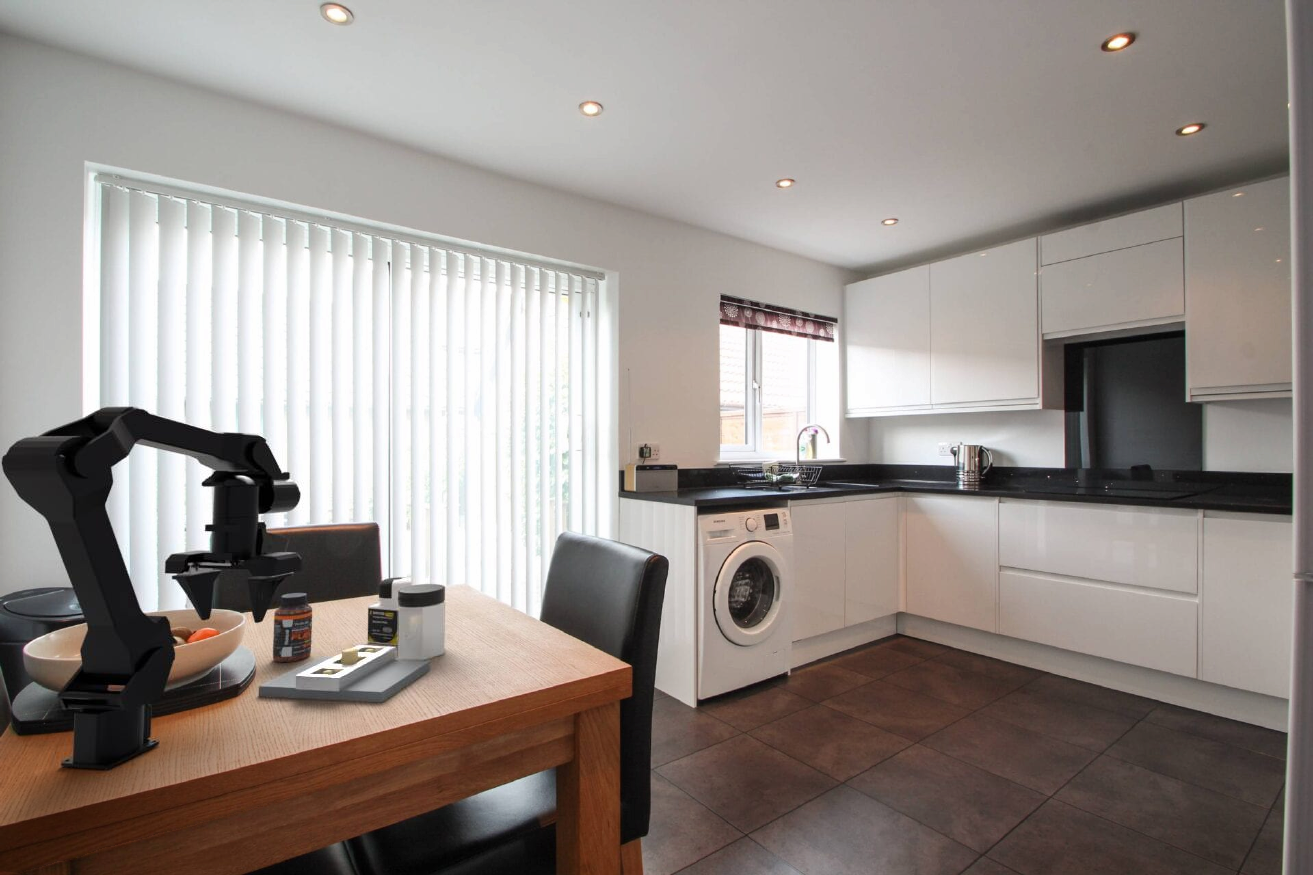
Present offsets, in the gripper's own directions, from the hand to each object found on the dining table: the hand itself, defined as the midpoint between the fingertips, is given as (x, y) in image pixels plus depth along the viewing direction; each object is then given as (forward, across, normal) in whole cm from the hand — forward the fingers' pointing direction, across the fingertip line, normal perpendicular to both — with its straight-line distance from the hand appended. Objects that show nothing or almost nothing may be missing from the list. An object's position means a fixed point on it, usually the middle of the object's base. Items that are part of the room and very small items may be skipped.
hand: (231, 620), depth 90 cm
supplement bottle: (+11, +5, -18) cm, 22 cm away
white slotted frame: (+10, -13, -9) cm, 19 cm away
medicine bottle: (+11, -6, -32) cm, 34 cm away
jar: (+11, -16, -24) cm, 32 cm away
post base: (+11, -13, -9) cm, 20 cm away
